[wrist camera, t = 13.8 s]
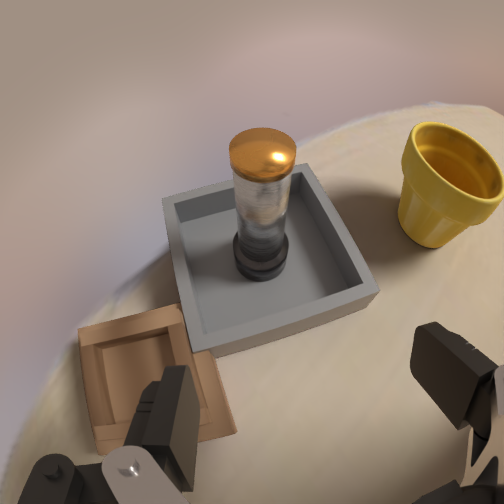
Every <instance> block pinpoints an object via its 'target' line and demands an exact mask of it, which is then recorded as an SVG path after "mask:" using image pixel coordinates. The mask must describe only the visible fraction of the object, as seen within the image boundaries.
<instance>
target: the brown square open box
mask: <svg viewBox="0 0 504 504" xmlns="http://www.w3.org/2000/svg"><path fill="white" fill-rule="evenodd" d="M78 341H79V351H80V360H81V368H82V376H83V383H84V389H85V395H86V401H87V406H88V412H89V417H90V421H91V426H92V431H93V435H94V439H95V443H96V447H97V451H98V455H107V454H108V453H110V452H111V451H112V450H114V449H116V448H119V447H122V446H123V444H124V441H125V439H126V436H127V433H128V430H129V427H130V424H131V422H132V419H133V416H134V413H136V408H137V405H138V404H139V400H140V397H141V394H142V391H143V390H144V389H145V388H146V387H147V386H148V385H149V384H150V383H151V382H152V381H161V378H162V375H163V372H164V369H165V367H166V366H176V365H188V366H189V367H190V370H191V374H192V377H193V381H194V385H195V388H196V392H197V395H198V399H199V404H200V423H199V433H198V442H202V441H207V440H211V439H216V438H220V437H224V436H228V435H232V434H235V433H236V432H237V429H236V426H235V423H234V420H233V416H232V413H231V410H230V407H229V404H228V401H227V398H226V394H225V391H224V388H223V385H222V381H221V378H220V375H219V371H218V368H217V364H216V361H215V358H214V357H213V355H212V354H211V353H210V351H209V350H207V351H203V352H199V353H196V354H194V353H193V351H192V347H191V343H190V339H189V335H188V331H187V326H186V322H185V318H184V314H183V309H182V305H181V302H180V303H176V304H172V305H169V306H165V307H161V308H157V309H154V310H150V311H146V312H142V313H139V314H135V315H131V316H127V317H123V318H119V319H115V320H111V321H107V322H103V323H99V324H95V325H91V326H87V327H83V328H79V329H78Z"/></svg>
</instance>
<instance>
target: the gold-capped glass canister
mask: <svg viewBox="0 0 504 504" xmlns="http://www.w3.org/2000/svg"><path fill="white" fill-rule="evenodd" d="M229 154H230V165H231V168H232V169H233V180H234V192H235V204H236V215H237V227H238V231H237V232H236V234H235V236H234V239H233V252H234V259H235V265H236V268H237V270H238V271H239V272H240V274H241V275H243V276H244V277H245V278H247V279H249V280H252V281H256V282H265V281H270V280H272V279H274V278H276V277H277V276H279V275H280V274H281V273H282V271H283V270H284V268H285V265H286V260H287V254H288V249H289V241H288V237H287V235H286V233H285V232H284V231H285V223H286V216H287V208H288V200H289V192H290V184H291V176H292V170H293V168H294V165H295V157H296V145H295V142H294V141H293V140H292V138H291V137H289V136H288V135H287V134H285V133H283V132H281V131H278V130H275V129H271V128H253V129H249V130H246V131H243V132H241V133H239V134H238V135H236V136H235V137H234V138H233V139H232V141H231V142H230V145H229Z"/></svg>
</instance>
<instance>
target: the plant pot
mask: <svg viewBox="0 0 504 504" xmlns="http://www.w3.org/2000/svg"><path fill="white" fill-rule="evenodd" d="M401 165H402V171H403V174H404V180H403V186H402V192H401V198H400V203H399V207H398V219H399V222H400V225H401V227H402V228H403V230H404V232H405V233H406V234H407V235H408V236H409V237H410V238H411V239H412V240H414V241H415V242H416V243H418V244H420V245H422V246H425V247H429V248H438V247H441V246H443V245H445V244H446V243H448V242H449V241H450V240H452V239H453V238H454V237H456V236H457V235H459V234H460V233H461V232H463V231H464V230H465V229H467V228H468V227H469V226H473V225H478V224H481V223H483V222H484V221H485V220H487V218H488V217H489V216H490V215H491V214H492V213H493V212H494V210H495V209H496V208H497V206H498V205H499V204H500V202H501V201H502V199H503V197H504V176H503V173H502V171H501V169H500V167H499V166H498V164H497V162H496V161H495V159H494V158H493V157H492V156H491V154H490V153H489V152H488V151H487V150H486V149H485V148H484V147H483V146H482V145H481V144H480V143H478V142H477V141H476V140H475V139H473V138H472V137H471V136H469V135H468V134H466V133H464V132H462V131H461V130H459V129H457V128H455V127H452V126H449V125H446V124H443V123H439V122H422V123H419V124H417V125H415V126H414V127H413V129H412V130H411V132H410V135H409V137H408V140H407V143H406V146H405V149H404V152H403V156H402V162H401Z"/></svg>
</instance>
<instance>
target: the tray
mask: <svg viewBox="0 0 504 504" xmlns="http://www.w3.org/2000/svg"><path fill="white" fill-rule="evenodd" d="M162 204H163V211H164V216H165V223H166V229H167V235H168V240H169V246H170V251H171V256H172V262H173V267H174V272H175V277H176V282H177V286H178V291H179V296H180V300H181V305H182V309H183V314H184V318H185V322H186V326H187V331H188V335H189V339H190V343H191V347H192V351H193V353H194V354H196V353H199V352H203V351H207V350H209V351H210V353H211V354H212V355H213V357H214V358H218V357H222V356H226V355H229V354H233V353H236V352H240V351H243V350H246V349H250V348H253V347H256V346H260V345H263V344H266V343H269V342H272V341H275V340H278V339H281V338H284V337H287V336H290V335H293V334H296V333H299V332H302V331H305V330H308V329H311V328H314V327H316V326H319V325H322V324H325V323H327V322H330V321H333V320H335V319H338V318H341V317H343V316H346V315H348V314H351V313H354V312H356V311H359V310H361V309H364V308H366V307H367V306H368V305H369V303H370V302H371V301H372V300H373V299H374V297H375V296H376V295H377V294H378V293H379V291H380V289H379V287H378V285H377V283H376V281H375V279H374V277H373V275H372V273H371V271H370V269H369V268H368V266H367V264H366V262H365V260H364V258H363V256H362V254H361V253H360V251H359V249H358V247H357V245H356V244H355V242H354V240H353V238H352V236H351V235H350V233H349V231H348V229H347V228H346V226H345V224H344V222H343V221H342V219H341V217H340V215H339V214H338V212H337V210H336V209H335V207H334V205H333V204H332V202H331V200H330V199H329V197H328V195H327V194H326V192H325V191H324V189H323V187H322V186H321V184H320V182H319V181H318V179H317V178H316V176H315V175H314V173H313V171H312V170H311V168H310V167H309V165H308V164H307V163H305V164H300V165H295V166H294V168H293V170H292V176H291V184H290V192H289V200H288V208H287V216H286V223H285V231H284V232H285V233H286V235H287V237H288V241H289V249H288V254H287V260H286V265H285V268H284V270H283V271H282V273H281V274H280V275H279V276H277V277H276V278H274V279H272V280H270V281H265V282H256V281H252V280H249V279H247V278H245V277H244V276H243V275H241V274H240V272H239V271H238V270H237V268H236V265H235V259H234V252H233V239H234V236H235V234H236V232H237V231H238V227H237V215H236V204H235V192H234V180H229V181H225V182H221V183H217V184H213V185H209V186H206V187H201V188H198V189H194V190H191V191H187V192H183V193H180V194H176V195H173V196H169V197H166V198H162Z"/></svg>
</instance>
